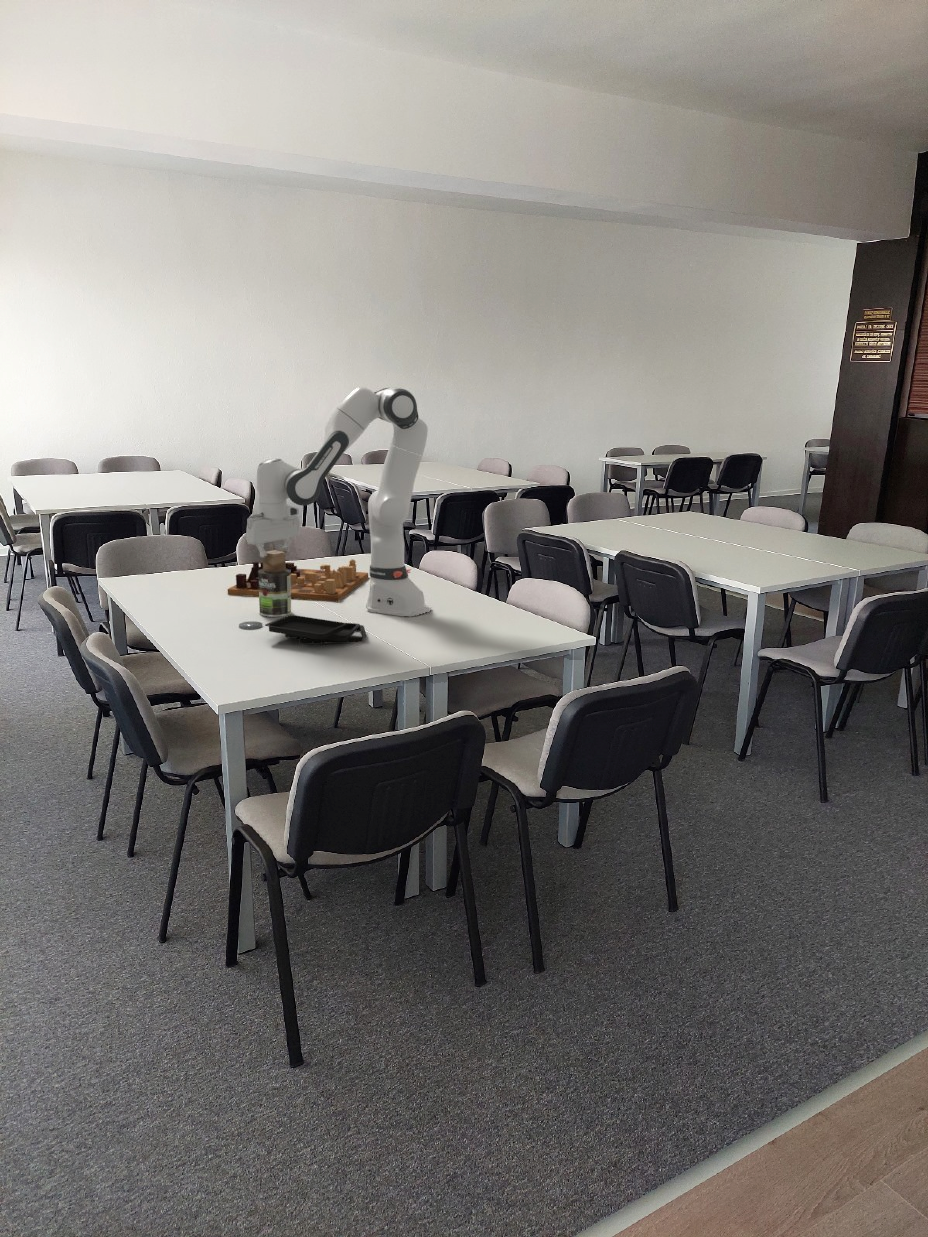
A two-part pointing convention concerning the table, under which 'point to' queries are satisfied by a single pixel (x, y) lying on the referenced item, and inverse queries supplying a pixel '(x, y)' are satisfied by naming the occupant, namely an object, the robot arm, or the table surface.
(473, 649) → the table surface
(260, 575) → the coffee can
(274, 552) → the walnut block
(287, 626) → the tray
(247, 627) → the slate coaster
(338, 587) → the gameboard
